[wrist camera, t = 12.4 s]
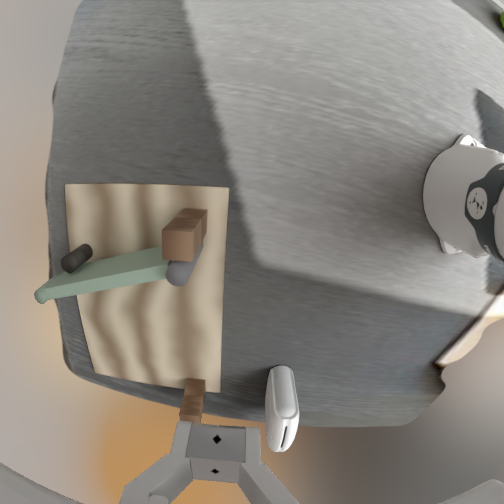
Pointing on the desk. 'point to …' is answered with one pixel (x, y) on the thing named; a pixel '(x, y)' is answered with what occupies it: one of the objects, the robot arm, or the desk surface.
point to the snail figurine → (502, 19)
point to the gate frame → (153, 283)
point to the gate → (117, 274)
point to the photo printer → (281, 409)
